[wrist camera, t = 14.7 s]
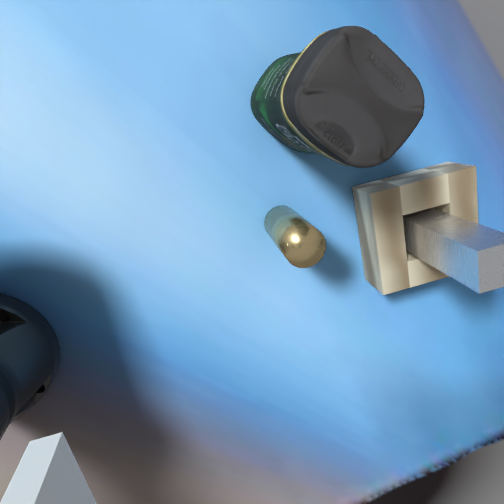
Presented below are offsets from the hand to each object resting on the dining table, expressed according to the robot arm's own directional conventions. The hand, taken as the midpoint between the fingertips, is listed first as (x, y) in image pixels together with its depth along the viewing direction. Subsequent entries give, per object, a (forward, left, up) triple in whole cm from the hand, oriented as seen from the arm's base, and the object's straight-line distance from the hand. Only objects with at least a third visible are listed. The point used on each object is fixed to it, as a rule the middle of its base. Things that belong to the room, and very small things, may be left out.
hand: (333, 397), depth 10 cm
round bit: (+6, -6, -37) cm, 38 cm away
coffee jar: (+10, +6, -37) cm, 39 cm away
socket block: (+21, -10, -37) cm, 43 cm away
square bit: (+21, -10, -35) cm, 42 cm away
